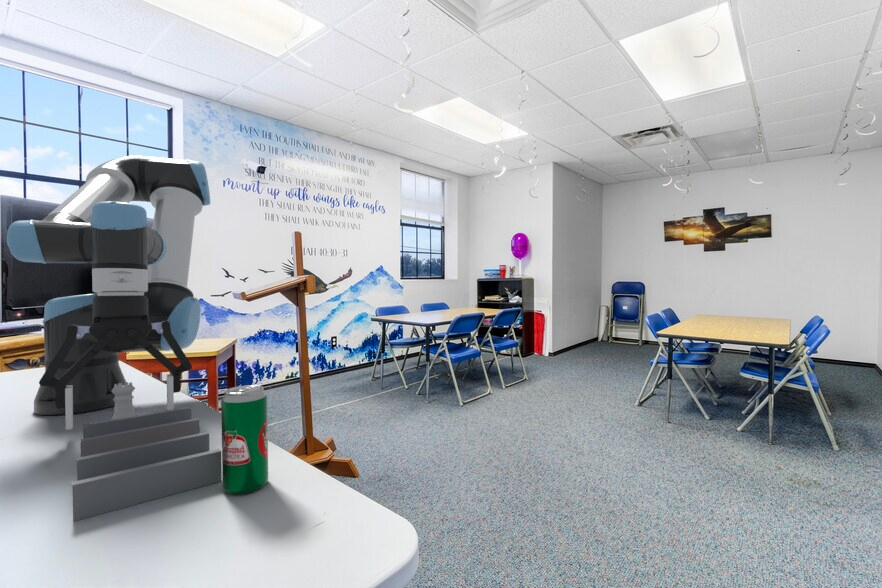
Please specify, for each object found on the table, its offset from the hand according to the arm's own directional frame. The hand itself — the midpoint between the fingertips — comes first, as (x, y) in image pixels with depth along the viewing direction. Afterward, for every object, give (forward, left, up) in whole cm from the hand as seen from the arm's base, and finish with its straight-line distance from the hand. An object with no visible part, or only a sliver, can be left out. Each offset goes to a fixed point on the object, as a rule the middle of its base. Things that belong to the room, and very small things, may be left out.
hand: (123, 419), depth 70 cm
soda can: (+35, +11, -2) cm, 36 cm away
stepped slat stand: (+19, +2, -2) cm, 19 cm away
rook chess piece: (0, 0, -2) cm, 2 cm away
